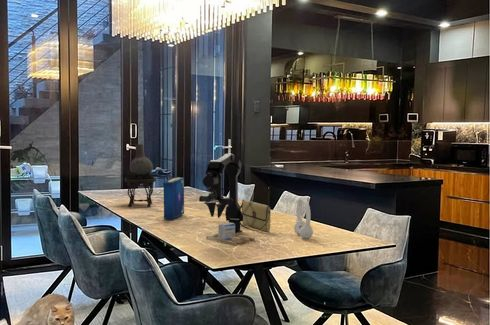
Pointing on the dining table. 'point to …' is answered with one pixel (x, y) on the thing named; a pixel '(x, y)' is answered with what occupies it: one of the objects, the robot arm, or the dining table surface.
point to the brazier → (140, 175)
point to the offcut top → (240, 238)
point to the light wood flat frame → (213, 237)
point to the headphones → (301, 226)
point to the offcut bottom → (241, 242)
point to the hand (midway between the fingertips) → (215, 217)
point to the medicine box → (226, 231)
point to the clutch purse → (256, 215)
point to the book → (173, 198)
